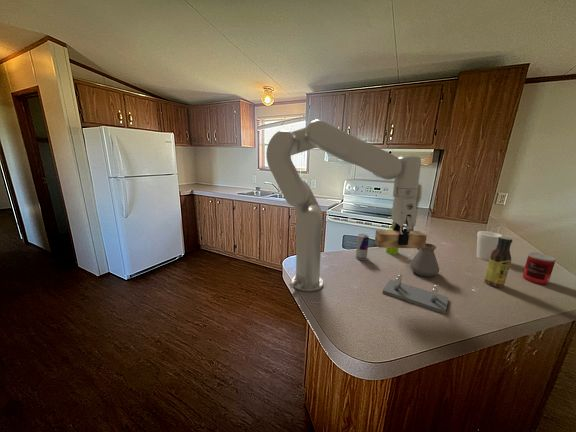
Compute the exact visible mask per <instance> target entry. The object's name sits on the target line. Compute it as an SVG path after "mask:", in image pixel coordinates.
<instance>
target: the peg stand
mask: <svg viewBox="0 0 576 432" xmlns="http://www.w3.org/2000/svg"><path fill="white" fill-rule="evenodd" d="M394 279H395V280H392V279H389V280H388V281H387V283H386V284H385V285H384V288H383V289H382V294H384V295H388V296H390V297H394V298H397V299H399V300H402V301H405V302H408V303H411V304H414V305H417V306H420V307H423V308H425V309H428V310H432V311H434V312H437V313H441V314H443V315H446V312H447V307H448V301H449V297H448V296H445V295H442V294H439V290H440V289H439V288H440V285H439V284H436V283H434V284H433V286H432V290H431V291H429V290H426V289H424V288H419V287H417V286H412V285H409V284H407V283H403V282H402V279H403V275H402V274H400V273H398V274H397V275H396V276H395V278H394Z"/></svg>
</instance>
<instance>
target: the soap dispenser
mask: <svg viewBox="0 0 576 432" xmlns="http://www.w3.org/2000/svg"><path fill="white" fill-rule="evenodd" d="M387 218H388V219H390V220H392V215H391V216H388V217H387ZM388 230H393V221H392V222H391V227H389V228H388ZM385 253H387V254H389V255H392V256H393V255H398V253H399V248H385Z"/></svg>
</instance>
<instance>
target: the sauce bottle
mask: <svg viewBox="0 0 576 432" xmlns="http://www.w3.org/2000/svg"><path fill="white" fill-rule="evenodd" d="M512 243H513V238H511V237H508V236H507V237H506V236H503V237H499V238H498V245H497V248H496V249H494V250H493V251H492V253H491V257H490V259H489V260H488V264H487V268H486V270H485V271H486V272H485V275H484V283H486V284H487V285H488V286H491V287H495V288H503V287H505V284H506V280H507V277H508V273H509V270H510V266H511V261H512V255H511V250H510V249H511V245H512Z"/></svg>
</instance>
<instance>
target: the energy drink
mask: <svg viewBox="0 0 576 432" xmlns="http://www.w3.org/2000/svg"><path fill="white" fill-rule="evenodd" d="M356 240H357V241H356V252H355V253H356V254H355V258H356V259H357V260H360V261H361V260H362V261H364V260H365V261H366V260H367V258H368V251H369V250H368V249H369V248H368V247H369V240H370V239H369V235H368V234H365V233H359V234H358V235H357V239H356Z"/></svg>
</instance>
